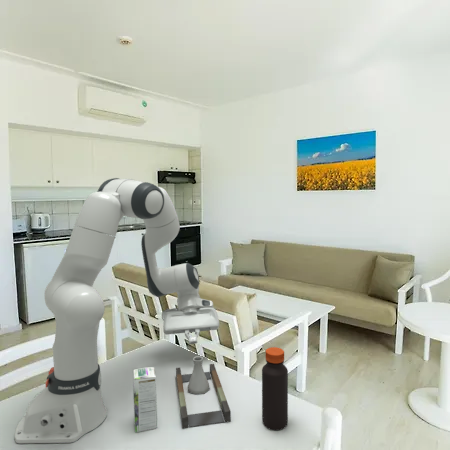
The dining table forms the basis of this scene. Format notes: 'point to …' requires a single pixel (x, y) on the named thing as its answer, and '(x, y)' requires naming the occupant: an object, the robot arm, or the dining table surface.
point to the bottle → (274, 390)
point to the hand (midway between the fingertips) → (193, 343)
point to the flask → (198, 378)
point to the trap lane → (206, 417)
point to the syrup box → (145, 399)
